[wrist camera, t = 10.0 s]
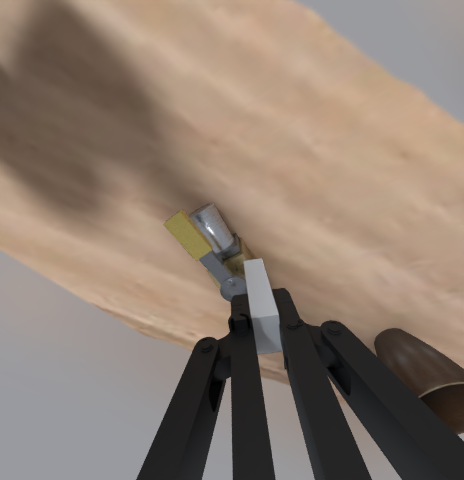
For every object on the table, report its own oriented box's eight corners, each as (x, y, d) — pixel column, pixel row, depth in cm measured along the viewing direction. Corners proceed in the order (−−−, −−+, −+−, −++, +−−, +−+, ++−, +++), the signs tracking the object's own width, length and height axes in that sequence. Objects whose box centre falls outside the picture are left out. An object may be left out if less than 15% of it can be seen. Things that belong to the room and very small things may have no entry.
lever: (253, 287, 37) (254, 292, 35) (231, 300, 38) (231, 306, 36) (185, 205, 32) (183, 208, 30) (162, 223, 33) (159, 227, 31)
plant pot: (358, 367, 57) (403, 444, 42) (355, 322, 52) (405, 392, 37) (420, 356, 56) (489, 431, 41) (423, 308, 50) (503, 375, 36)
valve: (186, 215, 42) (175, 232, 34) (218, 197, 41) (215, 211, 32) (246, 307, 50) (249, 340, 42) (274, 295, 49) (283, 326, 40)
